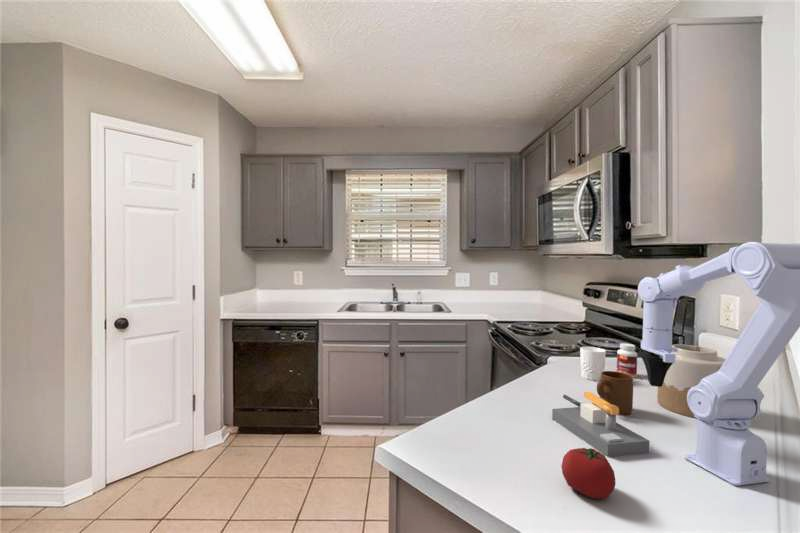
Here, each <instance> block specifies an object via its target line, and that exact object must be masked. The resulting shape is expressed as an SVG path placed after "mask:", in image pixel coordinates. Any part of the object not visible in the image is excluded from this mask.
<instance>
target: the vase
mask: <svg viewBox="0 0 800 533" xmlns="http://www.w3.org/2000/svg"><path fill="white" fill-rule="evenodd" d="M672 347H673V348H676V349H678V352H673V353H674V354H675V355H676V357H675V363H673V364H672V365H671V366H670V368H669V369H668V371H667V373H666V376H665V379H664V382H663V385H662V387H657V403H658V404H659V405H660V406H661V407H662V408H664V409H665V410H668V411H670V412H673V413H676V414H679V415H681V416H685V417H690V418H693V419H697V418H696V417H694V414H693V413H692V411H691V410H690V408H689V406H688V403H687V393H688V391H689V389H690V388H692V387H694V386H696V385H698V384H699V383H700V381H701V380H702V379H703V378H705V377H707V376H709V375H711V374H714V373H716V372H718V371H719V369H720V368H721V366H722V365H723V363H724V361H725V360H726V358H724V357H722V356H718V352H717V350H715V349H714V348H713V349H712V348H709V347H705V346H701V345H700V346H699V345H698V346H697V345H690V344H672Z"/></svg>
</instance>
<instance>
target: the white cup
mask: <svg viewBox="0 0 800 533" xmlns="http://www.w3.org/2000/svg"><path fill="white" fill-rule="evenodd" d="M606 354H607V351H606V349H605V348H601V347H600V348H599V347H595V346H581V347H580V348H579V355H580V358H579V360H580V371H581V375H580V376H581V378H582V379H585V380H588V381H593V382H595V381H596V382H598V381H599V380H600V379H601V373H602V372H603V371H605V366H606Z"/></svg>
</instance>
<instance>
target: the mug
mask: <svg viewBox="0 0 800 533" xmlns="http://www.w3.org/2000/svg"><path fill="white" fill-rule="evenodd" d="M596 393H597V396H598V397H600V398H601V399H603V400H605V401H606V402H608V403H610V404H612V405H615V406H617V407H618V409H619V415H623V416H624V415H625V416H627V415H630V414H632V413H633V408H634V406H633V405H634V404H633V403H634V378H633V377H632V376H630V375H628V374H625V373H621V372H616V371H613V370H604V371H603V372H602V373H601V379H600V380H599V381H597V384H596Z"/></svg>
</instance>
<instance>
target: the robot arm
mask: <svg viewBox="0 0 800 533" xmlns="http://www.w3.org/2000/svg"><path fill="white" fill-rule="evenodd" d="M734 274H737V276H738V277H739V278H740V279H741V280H742V281H743V283H744V284H745V285H746V286H747V287H748V289H749V290H750V291H751V292H752V294H753V295H754V296H757V297H758V299H759V301H760V304H759V306H758V307H757V308H756V310H755V312H754V314H753V316H752V317H751V319H750V320H749V321H748V323H747V325H746V326H745V328H744V329H743V331H742V332H741V334H740V336H739V338H738V339H737V341H736V342H735V344H734V345H733V347H732V349H731V350H730V352H729V354H728V355H727V357H726V358H725V359H726V360H725V361H724V363H723V365H722V366H721V368H720V369H719V371H718V372H716V373H714V374H711V375H709V376H707V377H705V378H703V379H702V380H701V381H700V383H699V384H698V385H696V386H694V387H692V388H690V389H689V391H688V393H687V403H688V406H689V408H690V410H691V411H692V413H693V414H694V417H696V418H695V419H696V420H697V422H696V452H695V453H696V454H695V453H694V454H686V455H683V456H684V459H685V460H687V461H689V462H691V463H692V464H695V465H697V466H698V467H700V468H702V469H704V470H706V471H708V472H709V473H711V474H713V475H715V476H717V477H719V478H720V479H722V480H724V481H726V482H728V483H730V484H732V485H733V486H745V485H746V486H747V485H751V484H754V485H755V484H761V483H768V482H770V478H768V477H767V459H768V458H767V456H768V455H767V453H768V450H767V449H768V448H767V444H766V442H765V440H764V438H762V437H761V436H759V435H757V434H755V433H753V432H752V430H750V429H749V428H748V427H751V426H752V423H751V422H752V421H753V420H755V419H757V418H758V417H759V415H760V412H761V402H762V401H763V399H764V398H765V394H764V392H763V391H762V390H761V388H759V385H760V383H761V382H762V381H763V379H764V378H765V377H766V375H767V373H768V372H769V371H770V369H771V368H772V367H773V365H774V363H775V362H777V361H778V360H777V359H778V358H779V357H780V355H781V354H782V352H783V351H784V350H785V349H786V347H787V346H788V344H789V343H790V342H791V340H792V339H793V337H794V336H795V335H796V333H797V332H798V330H799V328H800V243H798V242H797V243H796V242H795V243H793V242H792V243H771V242H770V243H769V242H767V243H766V242H758V241H749V242H745V243H742V244H741V245H739V246H734V247H730V248H729V249H728V251H727V252H725V253H722V254H721V255H719V256H716V257H714V258H712V259H710V260H708V261H706V262H703V263H701V264H700V265H698V266H693V265H686V264H678V265H676V266H675V269H673V270H671V271H669V272H662V273H660V274H659V276H657V277H651V276H645V277H644V278H643V279H641V280H640V282H639V283H638V286H637V294H638V296H639V298H640V299H641V300H642V301H643V311H642V312H643V313H642V317H643V318H642V339H641V340H640V349H641V350H643V351H646V352H647V353H640V354H639V355H640V357H641V359H642V362H643V364H644V366H645V369H646V375H647V379H648V382H649V385H650V386H651V387H657V388H658V387H662V385H663V382H664V379H665V376H666V373H667V371H668V369H669V368H670V366H671V365H672V364H673V363H675V357H676V355H675V354H674V353H673V352H678V349H676V348H673V347H672V345H673V325H674V324H673V323H674V322H673V318H674V310H675V309H676V306H677V301H678V300H679V298H680V297H683V296H685V295H689V294H692V293H695V292H697V291H700V290H702V289H703V288H704V286H705V283H706V282H710V281H714V280H717V279H720V278H723V277H724V278H725V277H727V276H731V275H734ZM776 360H777V361H776Z"/></svg>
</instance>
